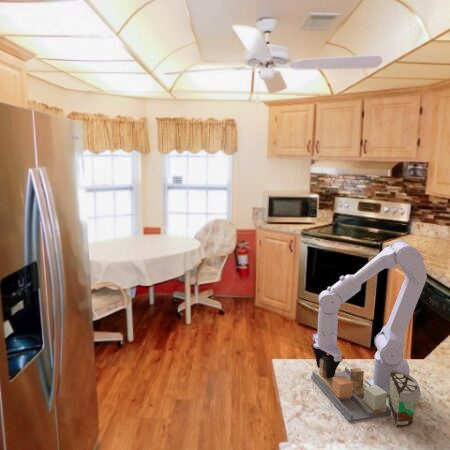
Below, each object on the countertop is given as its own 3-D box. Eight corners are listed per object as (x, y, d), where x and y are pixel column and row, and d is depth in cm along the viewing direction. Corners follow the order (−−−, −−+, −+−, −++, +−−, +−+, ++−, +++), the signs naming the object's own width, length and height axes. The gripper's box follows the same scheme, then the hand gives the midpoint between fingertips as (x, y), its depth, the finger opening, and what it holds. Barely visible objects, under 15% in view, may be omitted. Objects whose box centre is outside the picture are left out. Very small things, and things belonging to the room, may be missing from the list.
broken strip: (360, 386, 113) (361, 367, 112) (386, 412, 102) (388, 390, 101) (347, 388, 112) (348, 368, 111) (372, 414, 101) (374, 392, 100)
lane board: (346, 372, 122) (346, 367, 122) (391, 415, 101) (391, 409, 101) (310, 377, 120) (311, 371, 119) (348, 422, 98) (349, 415, 98)
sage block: (374, 398, 106) (375, 384, 105) (385, 406, 102) (386, 392, 101) (363, 401, 104) (364, 387, 104) (374, 410, 101) (375, 395, 100)
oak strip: (329, 375, 119) (330, 357, 118) (350, 398, 107) (352, 378, 106) (317, 377, 118) (317, 358, 117) (337, 400, 106) (338, 380, 106)
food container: (424, 434, 94) (427, 397, 93) (397, 430, 95) (400, 393, 94) (410, 404, 106) (413, 370, 105) (387, 401, 107) (389, 368, 106)
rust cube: (344, 388, 110) (345, 375, 110) (352, 396, 107) (352, 382, 106) (331, 390, 109) (332, 377, 109) (339, 398, 106) (339, 384, 105)
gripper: (304, 321, 121) (303, 362, 123) (326, 342, 107) (324, 386, 109) (325, 320, 123) (323, 359, 125) (349, 339, 109) (346, 383, 111)
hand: (325, 372), depth 117 cm, fingers open, 5 cm apart
